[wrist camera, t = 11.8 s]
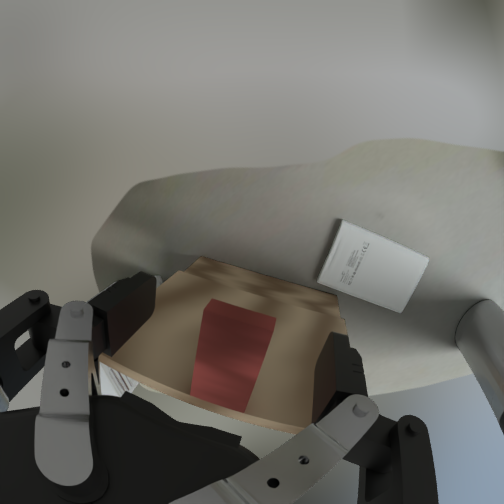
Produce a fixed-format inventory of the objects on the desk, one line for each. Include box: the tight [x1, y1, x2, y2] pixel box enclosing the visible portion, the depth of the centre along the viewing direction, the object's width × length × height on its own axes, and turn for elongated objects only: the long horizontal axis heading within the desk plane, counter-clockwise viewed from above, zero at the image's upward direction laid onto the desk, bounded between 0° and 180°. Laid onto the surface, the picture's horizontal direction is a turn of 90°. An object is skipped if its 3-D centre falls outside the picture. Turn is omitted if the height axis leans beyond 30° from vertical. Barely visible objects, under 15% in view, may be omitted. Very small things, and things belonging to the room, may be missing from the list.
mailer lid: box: [99, 271, 350, 434], centre depth 20 cm, size 18×15×7 cm
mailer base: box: [184, 256, 340, 318], centre depth 34 cm, size 18×15×7 cm
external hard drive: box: [317, 219, 429, 313], centre depth 31 cm, size 2×8×12 cm
